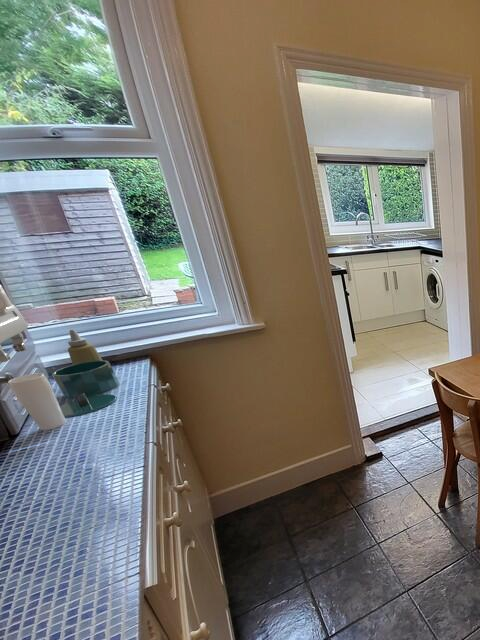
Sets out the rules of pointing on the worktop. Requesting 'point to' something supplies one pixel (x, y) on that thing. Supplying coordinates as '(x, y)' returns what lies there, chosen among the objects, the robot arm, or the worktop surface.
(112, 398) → the lid
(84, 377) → the pot
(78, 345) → the squeeze bottle
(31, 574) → the worktop surface
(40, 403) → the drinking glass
